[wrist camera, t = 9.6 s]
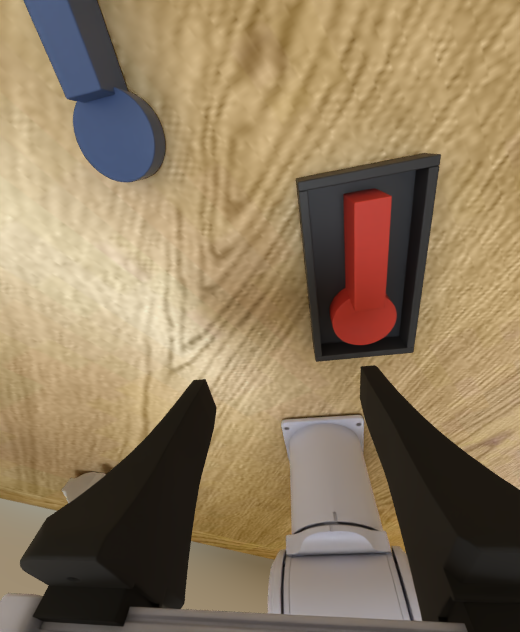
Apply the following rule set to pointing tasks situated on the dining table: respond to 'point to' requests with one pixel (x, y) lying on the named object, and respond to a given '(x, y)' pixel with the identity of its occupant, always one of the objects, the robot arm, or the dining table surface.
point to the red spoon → (365, 270)
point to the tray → (403, 256)
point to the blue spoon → (98, 91)
